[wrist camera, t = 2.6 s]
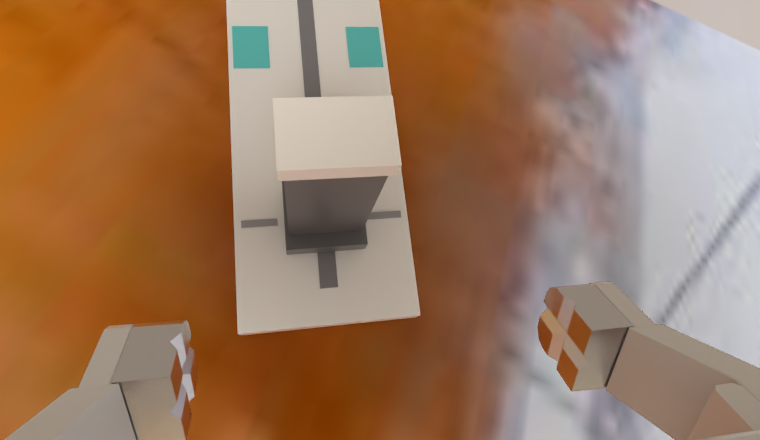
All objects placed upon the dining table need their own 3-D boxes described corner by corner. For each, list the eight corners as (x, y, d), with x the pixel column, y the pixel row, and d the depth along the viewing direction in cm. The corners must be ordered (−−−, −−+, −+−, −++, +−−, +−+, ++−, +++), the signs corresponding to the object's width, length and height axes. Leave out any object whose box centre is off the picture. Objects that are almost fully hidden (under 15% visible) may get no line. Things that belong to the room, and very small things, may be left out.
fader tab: (365, 248, 28) (403, 180, 17) (286, 254, 27) (277, 187, 16) (358, 183, 29) (390, 81, 18) (282, 187, 28) (271, 83, 18)
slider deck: (414, 317, 29) (420, 315, 27) (241, 335, 27) (237, 334, 26) (371, -18, 35) (374, -35, 34) (228, -22, 33) (224, -40, 32)
